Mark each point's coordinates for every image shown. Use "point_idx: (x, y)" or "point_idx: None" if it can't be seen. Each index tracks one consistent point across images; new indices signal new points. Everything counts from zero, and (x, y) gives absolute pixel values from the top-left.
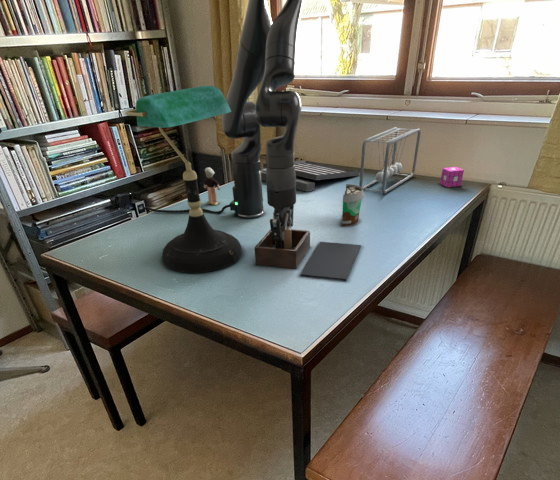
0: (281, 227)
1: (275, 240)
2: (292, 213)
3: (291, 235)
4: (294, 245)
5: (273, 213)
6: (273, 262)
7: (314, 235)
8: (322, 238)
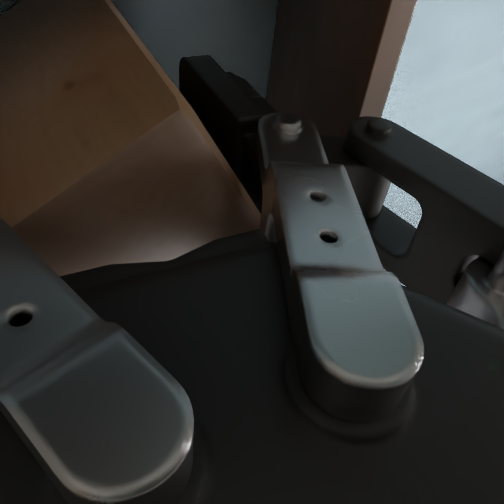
0: (163, 230)
1: (73, 49)
2: (443, 302)
3: (324, 110)
4: (274, 94)
5: (84, 495)
6: None
7: (445, 136)
8: (396, 193)
